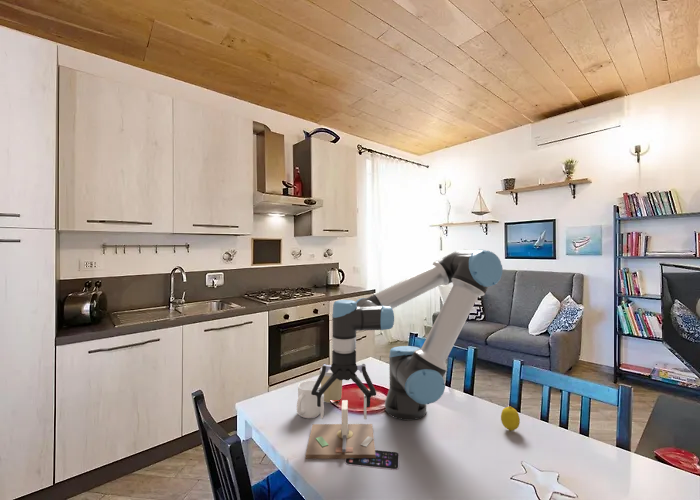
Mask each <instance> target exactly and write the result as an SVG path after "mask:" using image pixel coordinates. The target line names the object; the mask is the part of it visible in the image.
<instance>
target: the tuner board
mask: <svg viewBox="0 0 700 500" xmlns="http://www.w3.org/2000/svg"><path fill="white" fill-rule="evenodd" d="M341 429H342V423H328V424H327V423H325V424H324V423H323V424H322V423H318V424H317V423H313V424H312V426H311V430H310V434H309V438H308V442H307V447H306V452H305V459H306V460H311V459H312V460H314V459H315V460H317V459H318V460H320V459H322V460H325V459H326V460H332V459H334V460H337V459H338V460H341V459H343V460H346V458H376V454H375V450H376V448H375V447H376V446H375V437H374V428H373V423H348V429H349V434H348V438H346V452H342V445H343V438H342V434H341Z"/></svg>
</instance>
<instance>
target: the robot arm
mask: <svg viewBox="0 0 700 500" xmlns="http://www.w3.org/2000/svg"><path fill="white" fill-rule="evenodd" d="M502 276H503V264H502V261H501V259H500V257H499V256H498V255H497V254H495V252H492V251H490V250H486V249H465V248H463V249H459V250H455V251H454V252H451V253H449V254H447V255H446V256H443V257H441V258H440V259H438V260H435V261H434V262H433V263H432V265H431V266H430V267H427V268H425V269H423V270H421V271H419V272H418V273H416V274H413V275H412V276H410V277H407V278H405V279H403V280H401V281H399V282H397V283H394V284H393V285H391V286H389V287H387V288H384V289H382V290H381V291H379V292H377V293H375V294H373V295H371V296H368V297H361V298H358V299H357V300H356V301H355V300H353V299H339V300H335V301H334V302H333V304H332V306H333V307H332V315H331V316H332V317H331V318H332V320H331V321H332V324H331V326H332V327H331V328H332V337H331V338H332V339H331V340H332V342H331V343H332V345H331V346H332V347H331V348H332V353H331V354H332V355H331V360H332V361H331V364H327V363H323V364H322V366H321V367H322V372H321V373H320V372H319V375H318V378H317V379H316V380H315V381H316V383H315V385H314V387H313V389H312V393H311V394H312V395H316V396H317V406H318V407H321V413H320V419H321V420H323V419H324V414H325V406H324V405H325V402H324V394H323V393H324V392H325V391H326V390H327V389H328V387H329V386H330V385H331V384H332V383H333V382H334V381H335V380H336V379H339V380H342V381H350V380H352V382H353V383H354V384H355V385H356V386H357V387H358V388H359V390H360V391H361V392H362V393H363V419H364V420H367V416H368V415H367V412H368V411H367V408H370V407H371V398H372V397H373V396H374V397H376V395H377V391H376V388H375V385H374V384H373V382H372V380H371V378H370V376H369V373H368V372H367V368H366V364H365V363H362V364H361V365H357V351H356V349H357V331H384V330H390V329H392V328H393V327H394V324H395V314H394V310H393V309H395V308H397V307H400V306H401V305H403V304H405V303H407V302H409V301H411V300H413V299H416V298H418V297H419V296H421V295H423V294H425V293H427V292H429V291H431V290H433V289H435V288H437V287H439V286H441V285H444V286H448V285H449V284H451V283H452V287H451V289H450V291H449V293H448V295H447V297H446V299H445V301H444V303H443V305H442V306H441V309H440V310H439V313H438V314H437V316H436V318H435V321H434V323H433V324H432V327H431V329H430V331H429V332H428V334H427V335H426V339H425V340H424V343H423V344H422V346H421V347H418V346H411V345H400V346H394V347H391V349H390V350H389V356H388V358H389V360H388V361H389V365H388V366H389V369H388V370H389V389H388V391H387V395H386V397H385V401H384V410H385V412H386V413H387V414H388V415H389V416H391V417H393V418H395V419H399V420H405V421H413V420H414V421H415V420H419V419H421V418H423V417H424V416H425V415H426V414H427V405H430V404H434V403H436V402H437V401H439V400H440V398H441V397H442V396H443V395H444V392H445V388H446V384H445V379H444V376H445V374H446V373H447V365H446V361H447V359H448V357H449V355H450V354H451V351H452V349H453V347H454V345H455V343H456V341H457V339H458V337H459V335H460V334H461V331H462V329H463V327H464V325H465V324H466V321H467V319H468V317H469V315H470V314H471V311H472V310H473V307H474V305H475V304H476V302H477V299H478V298H479V297H483V296H485V295H486V293H487V291H488V289H489V288H491V287H493V286H495V285H497V284H498V283H499V282H500V281H501V279H502ZM328 370H331V371H332V373H333V374H332V375H331V377H330V378H329V379H328V380H327V381H326V383H325V384H324V385H323V386H322V387H321V388H320V389H319V390H317V389H318V387H319V385H320V383H321V381H322V379H323V378H324V375H325V372H328ZM357 372H359V373H361V374H362V377H363V379H364V380H365V382H366V384H367V386H368V388H367V386H366V385H365V384H364V383H363V382H362V380H361V379H360V378H359V377H358V376H357V374H356V373H357ZM385 408H386V409H385Z"/></svg>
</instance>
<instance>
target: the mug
mask: <svg viewBox="0 0 700 500" xmlns="http://www.w3.org/2000/svg"><path fill="white" fill-rule="evenodd" d="M316 381H317V380H305V381H302V382H299V384H298V385H297V392H298V393H297V397H298V398H297V400H296V401H297V402H296V412H297V414H298V415H299V417H301V418H303V419H315V418H317V417H318V416H319V415H321V407H318V406H317V396H316V395H312V394H311V393H312V389H313V387H314V385H315V383H316ZM320 388H321V383H320V385H319V387H318V389H317V390H319V389H320Z"/></svg>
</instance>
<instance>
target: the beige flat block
mask: <svg viewBox="0 0 700 500" xmlns="http://www.w3.org/2000/svg"><path fill="white" fill-rule="evenodd" d="M348 406H349V401H348V399H341V424H342V429H341V434H342V438H343V445H342V452H346V438H348V434H349V429H348V424H349V414H348V413H349V407H348Z"/></svg>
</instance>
